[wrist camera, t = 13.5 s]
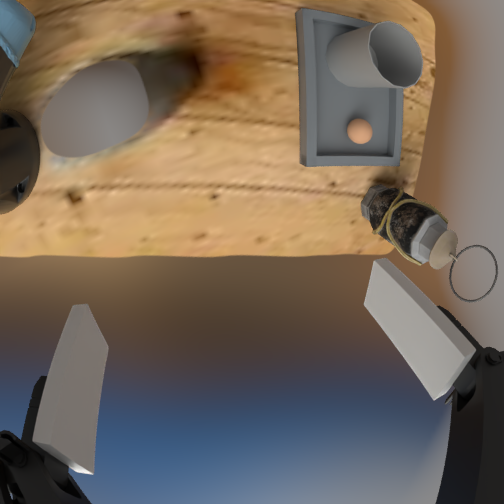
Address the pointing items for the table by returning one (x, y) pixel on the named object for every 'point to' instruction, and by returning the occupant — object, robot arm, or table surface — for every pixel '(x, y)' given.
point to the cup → (376, 57)
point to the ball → (359, 131)
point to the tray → (341, 102)
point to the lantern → (414, 228)
